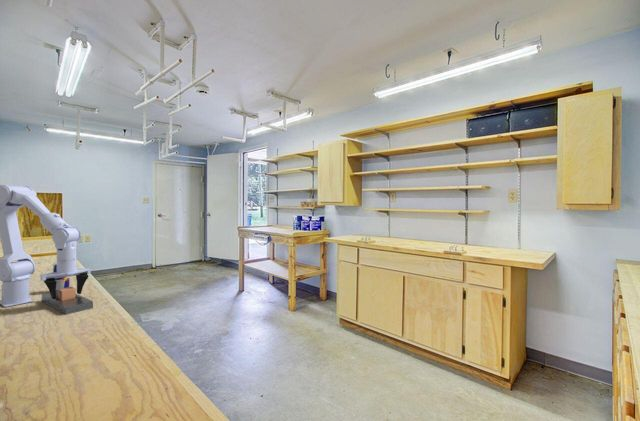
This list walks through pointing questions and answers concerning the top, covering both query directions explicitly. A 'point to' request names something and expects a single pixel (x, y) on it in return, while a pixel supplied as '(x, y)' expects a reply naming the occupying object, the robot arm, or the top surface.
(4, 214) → the robot arm
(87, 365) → the top surface
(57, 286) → the energy drink
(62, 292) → the square block
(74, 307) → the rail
